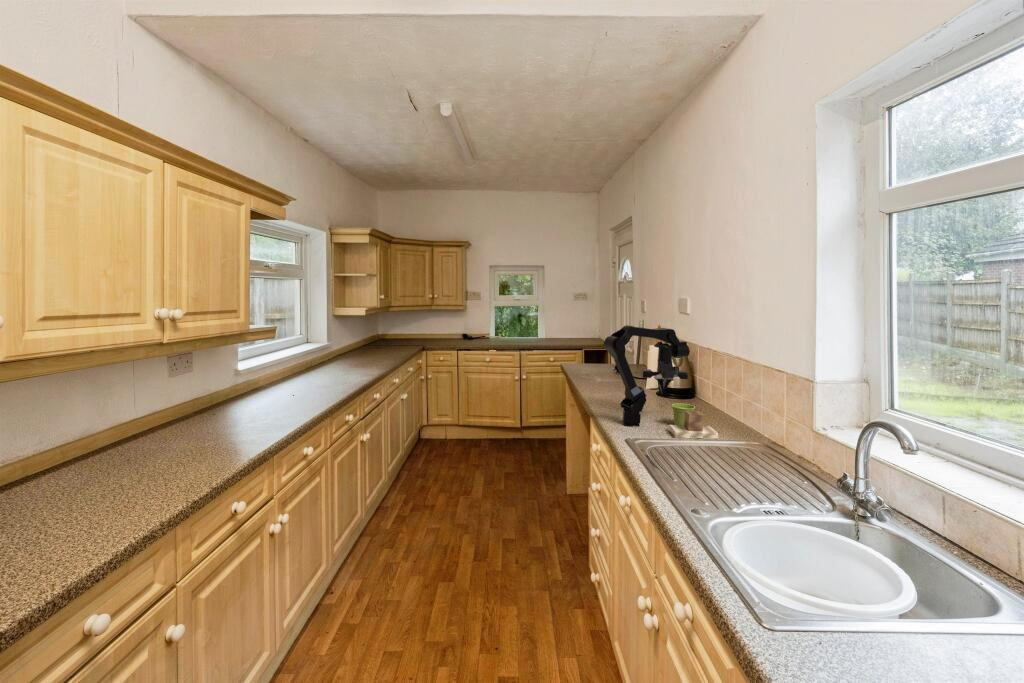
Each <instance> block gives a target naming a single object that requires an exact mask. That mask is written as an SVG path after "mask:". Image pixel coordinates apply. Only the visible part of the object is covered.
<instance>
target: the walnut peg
mask: <svg viewBox="0 0 1024 683" xmlns="http://www.w3.org/2000/svg"><path fill="white" fill-rule="evenodd" d="M704 416H705V415H704V414H703V413H702V412H701V411H698V410H697V411H696V410H694V411H685V420H684V427H685V428H686V429H687V430H688V431H703V426H704Z"/></svg>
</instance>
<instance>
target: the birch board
mask: <svg viewBox="0 0 1024 683" xmlns="http://www.w3.org/2000/svg"><path fill="white" fill-rule="evenodd" d="M668 426H669V428H668V432H671V433H672V434H673V435H674V436H675V437H674V436H673V435H672V434H671V433H670V434H671V435H672V436H673V437H674V439H682V438H684V437H685V438H690V437H694V438H718V439H719V433H718V431H716V430H715V429H714V428H712V427H711V425H710V426H708V425H707V426H704V425H703V431H688V430H687V429H686V428H685V427H684V425H674V424H669V425H668Z"/></svg>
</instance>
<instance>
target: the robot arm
mask: <svg viewBox="0 0 1024 683" xmlns="http://www.w3.org/2000/svg"><path fill="white" fill-rule="evenodd" d="M634 336H635V337H640V338H641V337H642V338H649V339H650V338H651V339H653V340H656V341H657V343H655V344H654V345H653V347H655V348H658V350H657V351H658V354H657V368H656V371H652V370H651V369H647V368H646V369H645V368H643V369H641V370H640V376H641V377H642V378H644V379H651V378H652V377H653V378H654V380H656V381H657V383H658V387H659V389H660V393H661V395H665V393H666V390H667V388H668V387H669V385H670V383H671V382H672V381H675V379H674V378H675V377H676V378H679V379H680V380H688V379H689V373H688V372H687V371H686V370H680V366H676V365H674V364H673V358H687V357H688V356H690V353H691V350H690V348H689V345H688V342H687V341H684V340H682V341H680V340H679V338H678V337H677V333H676V331H675V329H672V328H668V327H656V328H648V327H646V328H645V327H638V326H633V325H627V324H626V325H624V326H623V327H622V328H620V329H619V330H617V331H614V332H613V333H612V334H611V335H609V336H607V337H605V339H604V340H603V347H604V348H605V349H606V351H607V352H608V354H609V355H610V357H612V359H613V360H614V363H615V366H616V368H617V370H618V373H619V376H620V378H621V380H622V382H623V385H624V388H625V389H624V398H623V399H622V401H620V404H619V405H620V408H622V420H621V422H622V425H623V426H627V427H640V426H641V425H640V424H641V418H642V417H641V412H642V411H643V409H644V407H645V405H646V402H647V395H646V393H645V388H643V387H641V386H638V384H637V383H636V380H635V378H634V377H635V376H634V375H633V373H632V370H631V367H630V365H629V362H628V360H627V359H628V358H626V351H627V350H626V345H627V344H628V343H629V342H630V340H631V338H632V337H634ZM673 365H674V366H673Z"/></svg>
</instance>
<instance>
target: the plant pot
mask: <svg viewBox="0 0 1024 683" xmlns="http://www.w3.org/2000/svg"><path fill="white" fill-rule="evenodd" d="M671 407H672V410H673V421H674V422H673V423H674V424H673V425H684V420H685V411H695V409H696V406H695V405H692V404H689V403H688V404H687V403H672V404H671Z"/></svg>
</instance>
